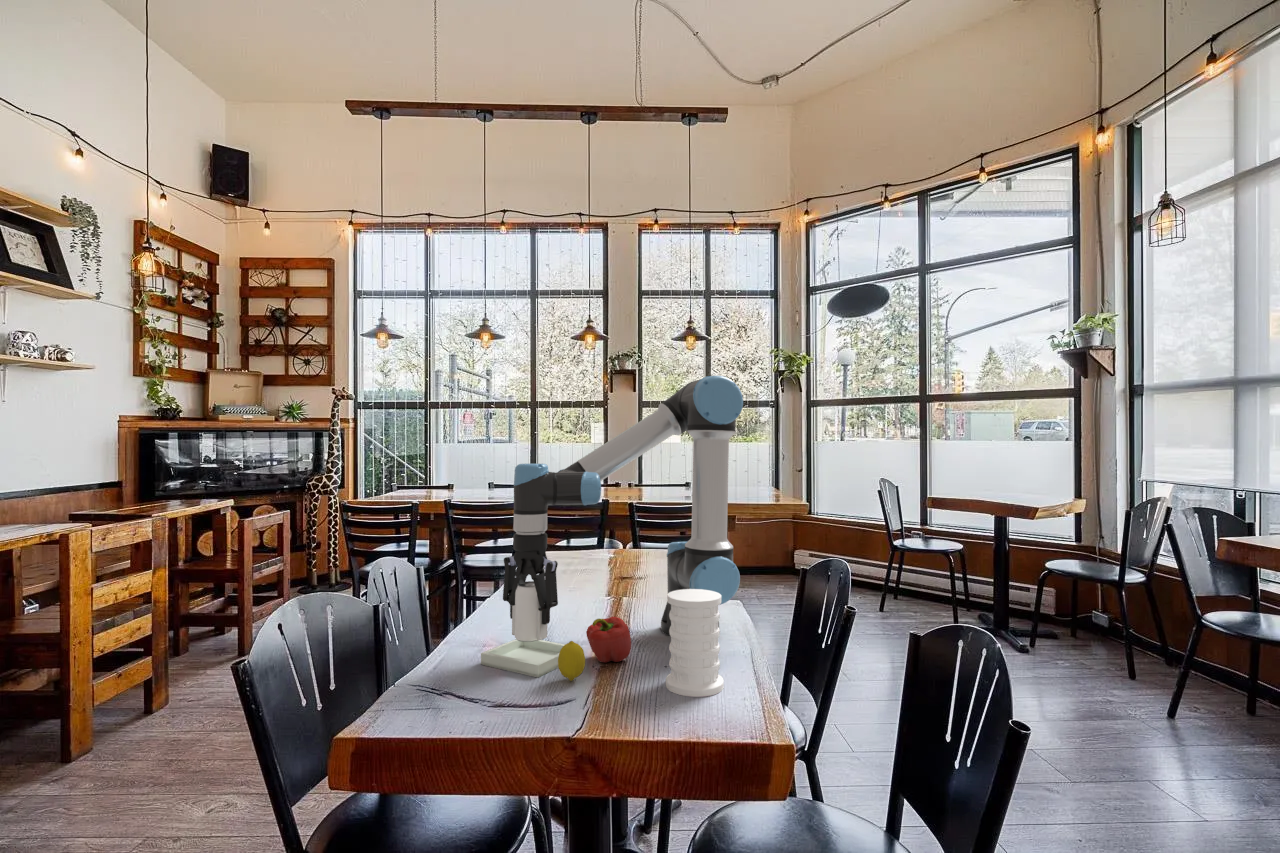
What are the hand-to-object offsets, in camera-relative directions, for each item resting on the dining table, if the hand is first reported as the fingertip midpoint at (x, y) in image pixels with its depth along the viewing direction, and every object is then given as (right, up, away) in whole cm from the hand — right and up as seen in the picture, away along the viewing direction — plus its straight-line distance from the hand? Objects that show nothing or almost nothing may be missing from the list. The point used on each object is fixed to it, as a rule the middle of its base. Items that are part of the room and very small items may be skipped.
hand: (529, 635), depth 141 cm
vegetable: (+18, -6, 0) cm, 19 cm away
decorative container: (+36, -5, -15) cm, 39 cm away
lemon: (+11, -5, -12) cm, 17 cm away
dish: (0, -6, 0) cm, 6 cm away
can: (0, -1, 0) cm, 1 cm away
